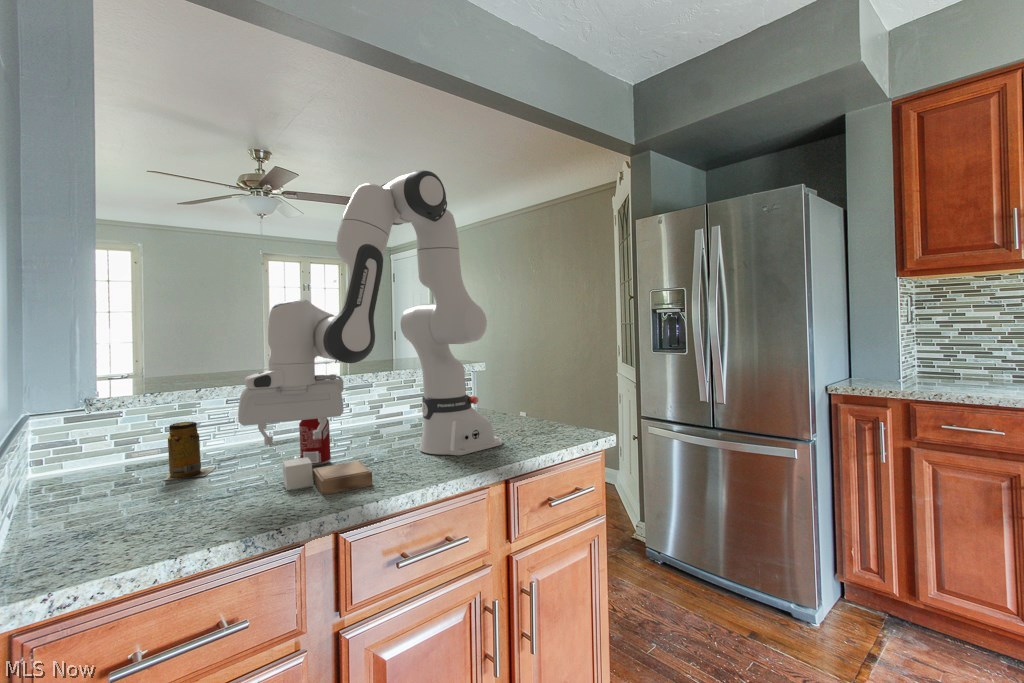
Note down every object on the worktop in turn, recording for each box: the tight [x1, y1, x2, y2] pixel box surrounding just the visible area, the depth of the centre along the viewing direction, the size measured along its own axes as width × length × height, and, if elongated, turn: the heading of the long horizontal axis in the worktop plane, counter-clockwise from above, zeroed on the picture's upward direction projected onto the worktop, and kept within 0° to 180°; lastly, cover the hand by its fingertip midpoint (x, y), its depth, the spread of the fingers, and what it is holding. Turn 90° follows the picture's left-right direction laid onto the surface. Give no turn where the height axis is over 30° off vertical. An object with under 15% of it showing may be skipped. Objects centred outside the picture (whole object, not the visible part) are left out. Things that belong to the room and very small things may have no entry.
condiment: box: [162, 421, 216, 481], centre depth 111 cm, size 7×8×12 cm
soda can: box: [298, 418, 331, 468], centre depth 117 cm, size 7×7×12 cm
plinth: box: [312, 460, 373, 496], centre depth 102 cm, size 10×10×3 cm
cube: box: [282, 457, 314, 491], centre depth 102 cm, size 5×5×5 cm
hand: (293, 441), depth 101 cm, fingers open, 8 cm apart
